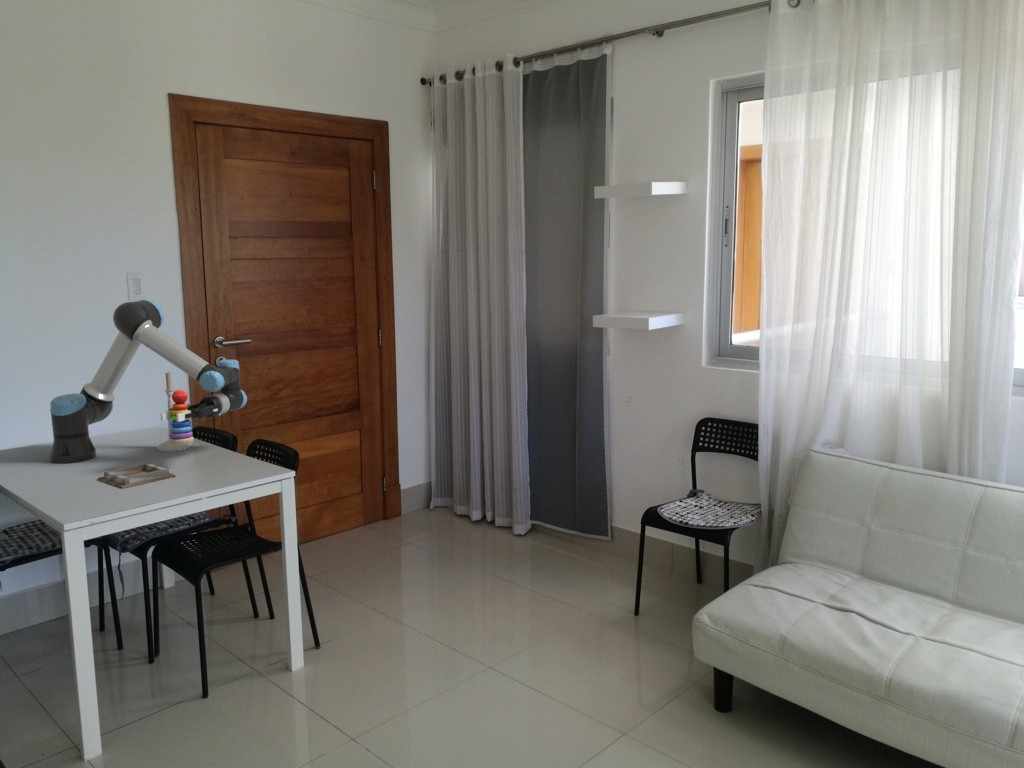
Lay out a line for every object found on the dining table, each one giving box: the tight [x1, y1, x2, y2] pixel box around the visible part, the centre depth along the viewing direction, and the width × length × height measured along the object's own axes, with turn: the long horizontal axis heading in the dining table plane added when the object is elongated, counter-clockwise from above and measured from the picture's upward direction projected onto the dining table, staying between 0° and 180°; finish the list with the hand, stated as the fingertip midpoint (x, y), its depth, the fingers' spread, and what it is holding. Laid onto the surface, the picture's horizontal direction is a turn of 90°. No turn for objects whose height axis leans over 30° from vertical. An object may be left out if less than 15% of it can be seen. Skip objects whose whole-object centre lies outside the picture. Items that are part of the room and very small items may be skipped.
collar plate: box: [97, 462, 177, 489], centre depth 281 cm, size 18×18×3 cm
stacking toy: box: [170, 389, 195, 445], centre depth 291 cm, size 8×8×19 cm
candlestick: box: [156, 371, 193, 452], centre depth 323 cm, size 13×13×30 cm
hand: (169, 417), depth 286 cm, fingers closed on stacking toy, 6 cm apart
